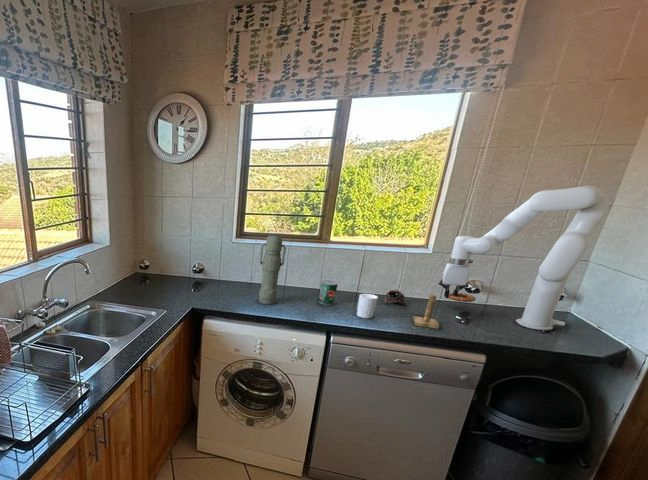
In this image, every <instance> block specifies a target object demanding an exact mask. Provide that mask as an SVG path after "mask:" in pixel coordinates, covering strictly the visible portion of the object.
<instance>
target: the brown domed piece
mask: <svg viewBox="0 0 648 480" xmlns="http://www.w3.org/2000/svg"><path fill="white" fill-rule="evenodd" d="M383 302H384V304H385V305H386V304H388V303H389V304H393V303H402V304H403V306H405V305H406V299H405V295H404V294H403V293H402V292H401V291H400V290H397V289H391V290H389V291H387V292H386V293H385V297H384V300H383Z"/></svg>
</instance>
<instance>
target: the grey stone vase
mask: <svg viewBox="0 0 648 480" xmlns="http://www.w3.org/2000/svg"><path fill="white" fill-rule="evenodd" d="M264 246H265V253H264V256H263V251H264ZM282 248H283V252H282ZM260 251H261V252H260V258H259V264H260V265H262V267H261V268H262V276H261V285H260V288H259V292H258V303H260V304H263V305H274V304H275V305H276V304H277V303H276V302H277V301H276V300H277V297H278V289H277V288H278V281H279V280H278V279H279V272H280V271H281V267H282V266H284V264H285V257H286V251H287V247H286V245H285V244H283V238H282V235H281V234H278V233H271V234H268V236H267V238H266V243H263V244H262V245H261V250H260ZM281 252H282V253H281ZM281 255H282V257H281Z"/></svg>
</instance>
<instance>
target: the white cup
mask: <svg viewBox="0 0 648 480" xmlns="http://www.w3.org/2000/svg"><path fill="white" fill-rule="evenodd" d="M378 300H379V296H378V295H375V294H371V293H360V294H359V295H358V300H357V308H356V316H357V317H358V318H363V319H372V318H373V316H374V313H375V310H376V306H377V303H378Z"/></svg>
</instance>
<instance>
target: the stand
mask: <svg viewBox="0 0 648 480" xmlns="http://www.w3.org/2000/svg"><path fill="white" fill-rule="evenodd" d="M436 300H437V295H436V294H430V295H429V297H428V302H427V305H426V309H425V312H424V316H423V317H421V316H413V317H412V321H413V324H414V326H416V327H417V326H418V327H424V328H433V329H437V330H438V329H440V323H439V321H438V319H436V318H431V317H432V314H433V310H434V307H435V304H436Z"/></svg>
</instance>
